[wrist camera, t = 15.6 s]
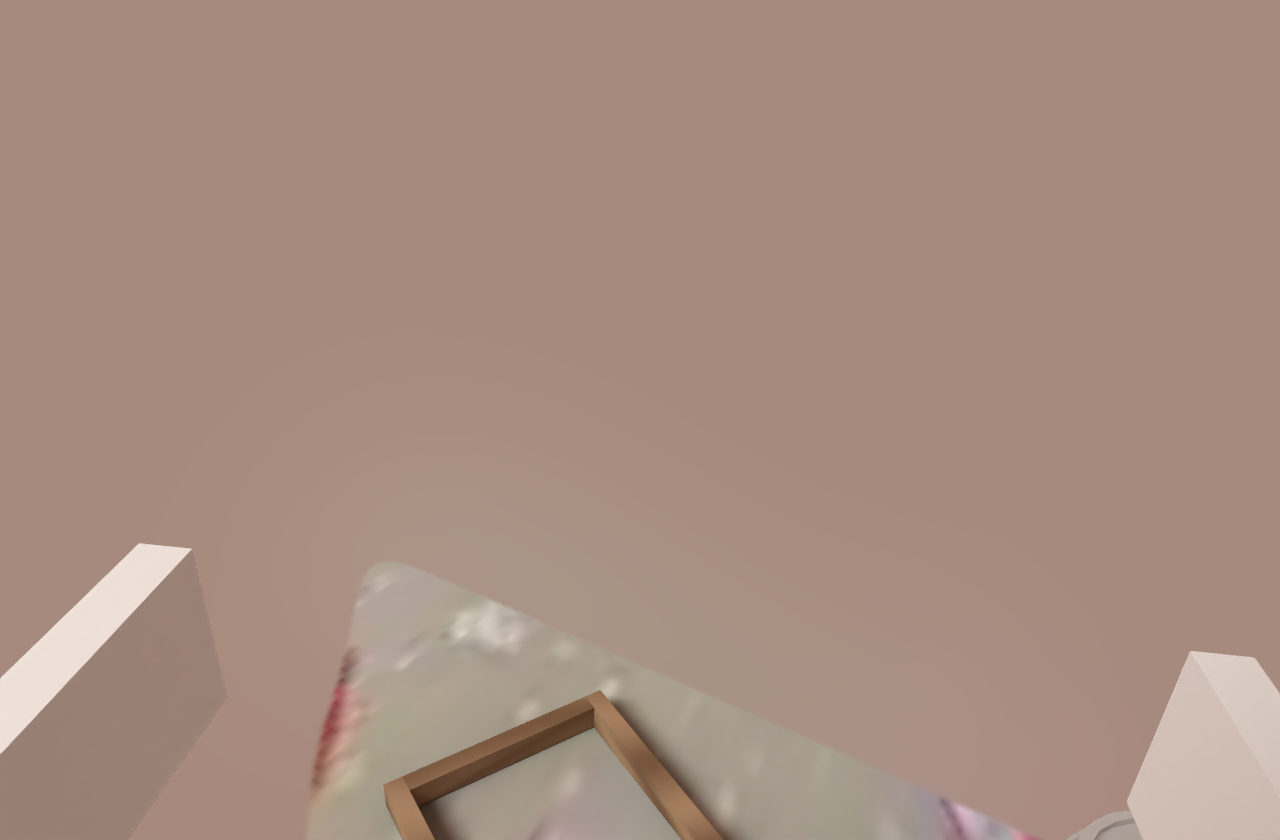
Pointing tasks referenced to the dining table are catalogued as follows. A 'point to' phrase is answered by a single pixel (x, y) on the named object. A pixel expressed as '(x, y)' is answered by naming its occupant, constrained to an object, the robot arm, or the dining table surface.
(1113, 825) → the disposable coffee cup
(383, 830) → the dining table surface
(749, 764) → the dining table surface
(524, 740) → the walnut holder frame
